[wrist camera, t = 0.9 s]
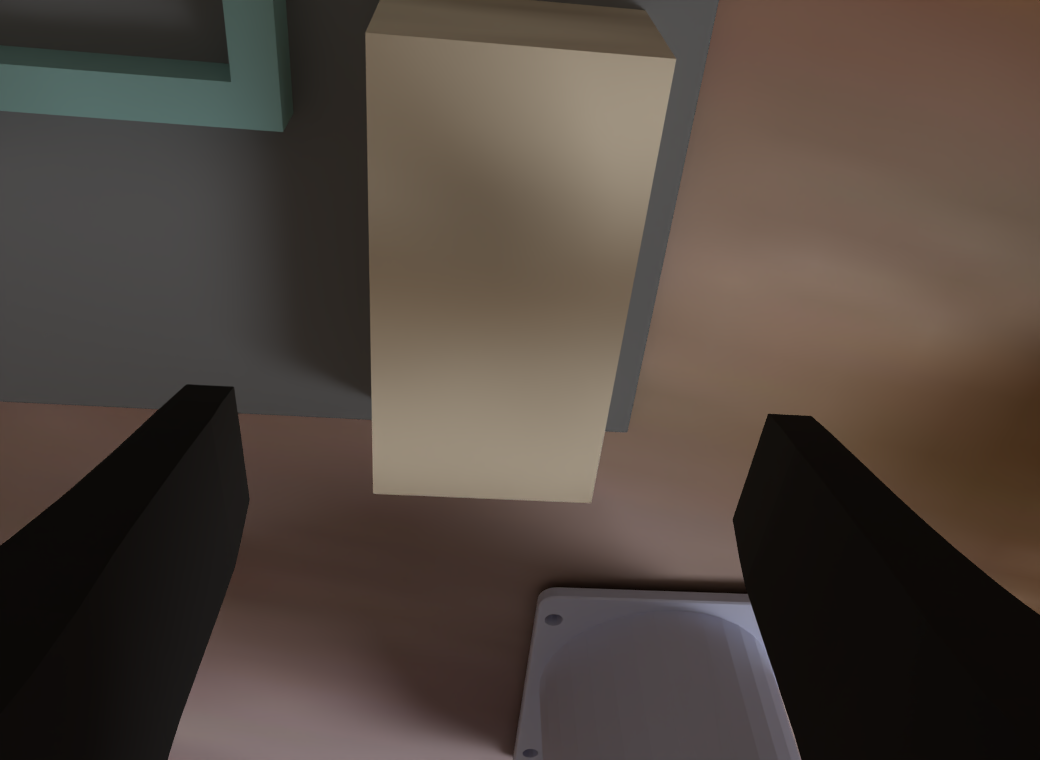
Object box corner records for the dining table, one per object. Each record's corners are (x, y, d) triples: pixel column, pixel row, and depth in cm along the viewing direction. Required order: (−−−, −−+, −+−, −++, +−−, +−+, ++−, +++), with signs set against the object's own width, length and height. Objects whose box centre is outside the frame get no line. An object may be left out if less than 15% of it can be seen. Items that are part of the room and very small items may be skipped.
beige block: (578, 413, 20) (591, 502, 18) (387, 403, 20) (373, 494, 17) (645, 10, 15) (676, 58, 12) (385, -13, 14) (364, 32, 12)
